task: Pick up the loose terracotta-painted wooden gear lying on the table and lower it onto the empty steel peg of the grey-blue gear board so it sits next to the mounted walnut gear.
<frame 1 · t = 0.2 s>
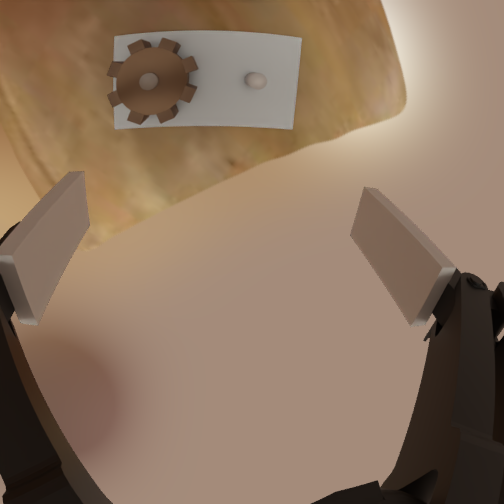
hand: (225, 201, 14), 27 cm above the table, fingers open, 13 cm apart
gear board: (205, 77, 34), on the table
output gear: (157, 79, 31), resting on gear board
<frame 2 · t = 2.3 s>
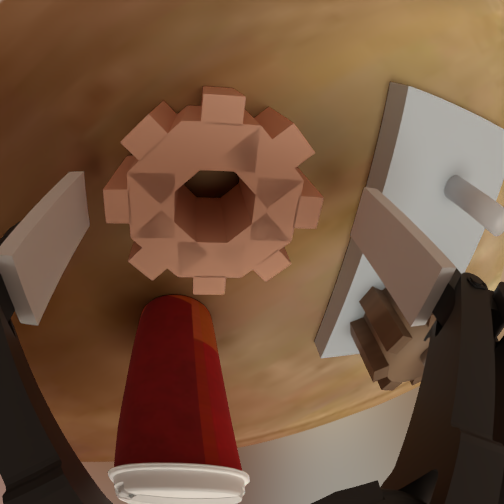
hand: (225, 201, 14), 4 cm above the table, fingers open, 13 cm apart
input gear: (210, 170, 17), on the table
gear board: (414, 239, 23), on the table
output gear: (401, 308, 24), resting on gear board
paper cup: (176, 319, 24), on the table
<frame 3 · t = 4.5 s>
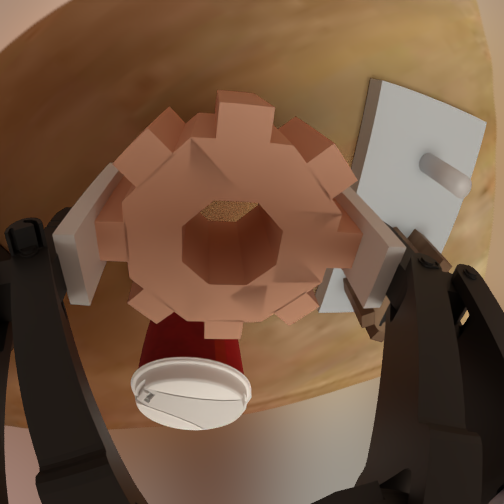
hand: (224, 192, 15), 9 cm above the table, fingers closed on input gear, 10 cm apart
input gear: (224, 190, 15), point 9 cm above the table, touching gripper
gear board: (398, 209, 27), on the table
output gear: (388, 270, 28), resting on gear board
paper cup: (196, 270, 29), on the table
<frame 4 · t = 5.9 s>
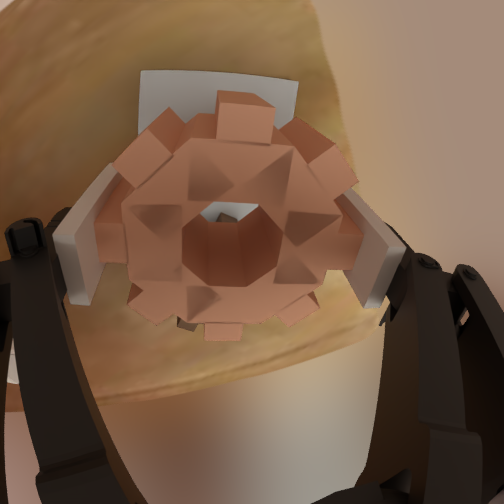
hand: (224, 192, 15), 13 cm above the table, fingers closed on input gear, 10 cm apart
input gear: (225, 191, 15), point 12 cm above the table, touching gripper
gear board: (208, 194, 28), on the table
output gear: (205, 257, 29), resting on gear board
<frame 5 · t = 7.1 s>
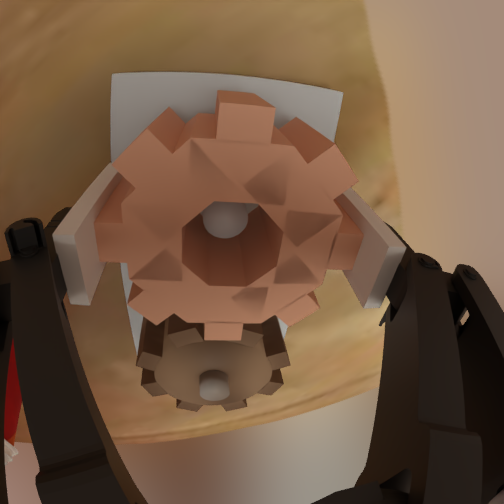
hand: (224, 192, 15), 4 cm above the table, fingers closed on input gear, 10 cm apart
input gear: (225, 190, 15), point 4 cm above the table, touching gripper
gear board: (212, 242, 21), on the table
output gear: (210, 321, 23), resting on gear board
paper cup: (19, 310, 23), on the table
when the fingers open (3 cm above the table, at t = 7.9 s): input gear stays where it is, resting on gear board.
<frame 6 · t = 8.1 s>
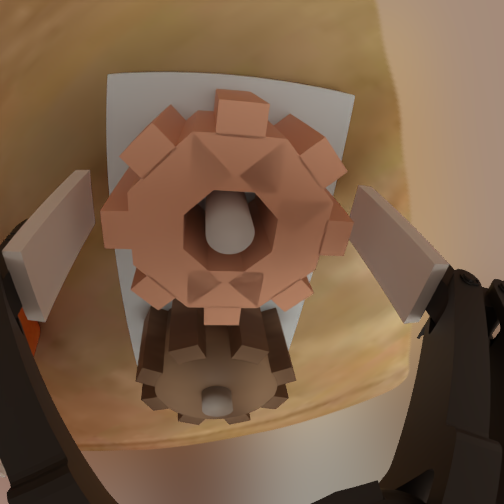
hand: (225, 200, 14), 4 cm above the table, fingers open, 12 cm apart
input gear: (223, 183, 16), point 2 cm above the table, touching gear board
gear board: (215, 252, 20), on the table
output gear: (212, 333, 22), resting on gear board
paper cup: (16, 318, 22), on the table
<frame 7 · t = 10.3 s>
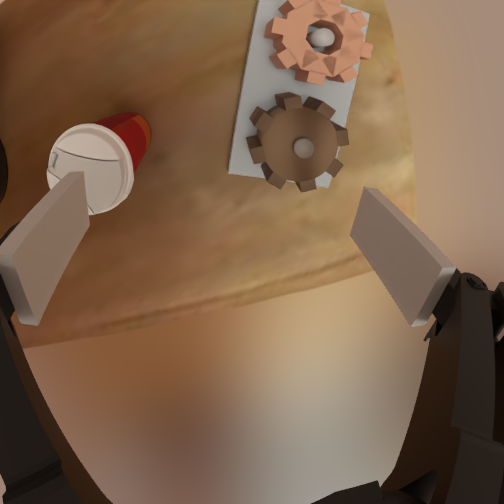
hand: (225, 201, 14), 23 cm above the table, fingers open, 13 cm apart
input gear: (310, 40, 27), point 2 cm above the table, touching gear board
gear board: (296, 86, 31), on the table
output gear: (290, 134, 33), resting on gear board
paper cup: (129, 135, 33), on the table
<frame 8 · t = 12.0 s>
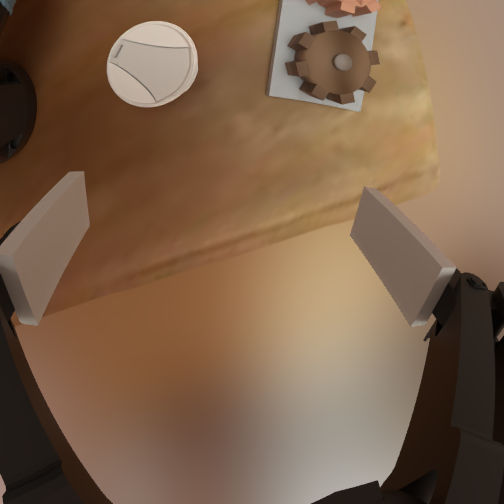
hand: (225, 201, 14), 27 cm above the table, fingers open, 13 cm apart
gear board: (324, 23, 30), on the table
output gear: (324, 61, 32), resting on gear board
paper cup: (170, 64, 32), on the table
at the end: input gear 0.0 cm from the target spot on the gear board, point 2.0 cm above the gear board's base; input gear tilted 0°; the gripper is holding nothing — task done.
